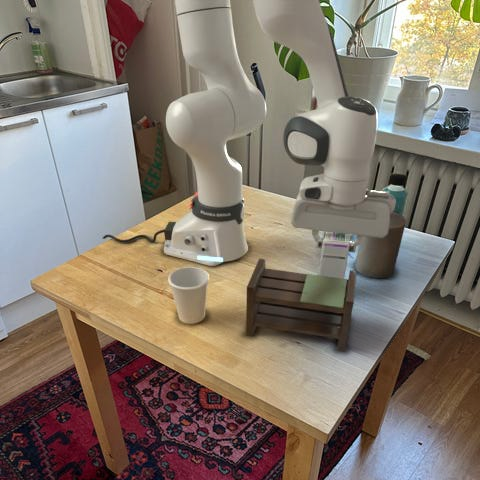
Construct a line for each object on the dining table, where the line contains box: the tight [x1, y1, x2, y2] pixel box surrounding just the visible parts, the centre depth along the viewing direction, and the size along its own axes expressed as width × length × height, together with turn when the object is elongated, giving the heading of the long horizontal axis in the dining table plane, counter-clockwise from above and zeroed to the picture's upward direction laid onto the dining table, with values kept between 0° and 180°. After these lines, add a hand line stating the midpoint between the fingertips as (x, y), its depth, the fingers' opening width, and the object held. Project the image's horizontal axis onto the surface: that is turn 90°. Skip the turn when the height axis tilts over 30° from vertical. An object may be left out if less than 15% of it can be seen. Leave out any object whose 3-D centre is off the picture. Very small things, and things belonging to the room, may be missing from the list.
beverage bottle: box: [381, 172, 409, 216], centre depth 116 cm, size 6×7×20 cm
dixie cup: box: [167, 266, 210, 325], centre depth 95 cm, size 8×8×10 cm
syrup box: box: [318, 231, 351, 279], centre depth 101 cm, size 6×6×14 cm
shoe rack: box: [245, 258, 358, 352], centre depth 91 cm, size 20×11×12 cm, turn 76°
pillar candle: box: [354, 212, 407, 279], centre depth 109 cm, size 10×10×15 cm
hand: (335, 249), depth 99 cm, fingers closed on syrup box, 6 cm apart
